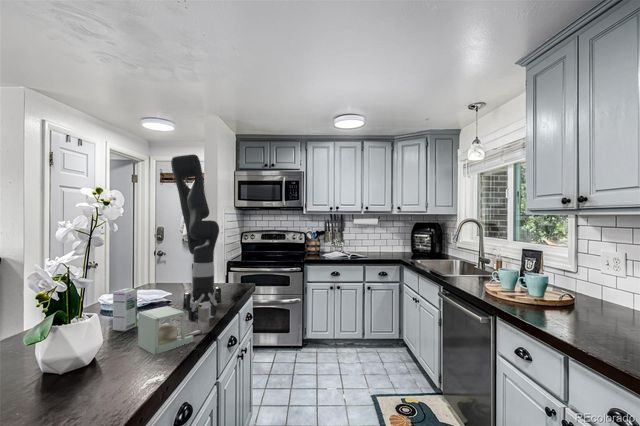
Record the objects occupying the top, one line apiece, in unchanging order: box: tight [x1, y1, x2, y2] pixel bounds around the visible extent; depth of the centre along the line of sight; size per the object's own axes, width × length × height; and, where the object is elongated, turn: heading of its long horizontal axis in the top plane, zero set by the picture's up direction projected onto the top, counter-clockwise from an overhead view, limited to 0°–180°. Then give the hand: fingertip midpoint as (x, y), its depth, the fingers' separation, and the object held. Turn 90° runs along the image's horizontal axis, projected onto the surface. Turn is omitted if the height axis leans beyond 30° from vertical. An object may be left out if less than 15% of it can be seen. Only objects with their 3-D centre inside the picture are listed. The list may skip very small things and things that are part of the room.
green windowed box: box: [137, 305, 195, 356], centre depth 107 cm, size 13×11×11 cm
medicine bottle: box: [190, 301, 215, 322], centre depth 135 cm, size 7×7×12 cm
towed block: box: [158, 306, 210, 346], centre depth 112 cm, size 19×6×9 cm, turn 143°
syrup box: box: [112, 288, 138, 332], centre depth 122 cm, size 6×6×14 cm
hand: (202, 318), depth 118 cm, fingers open, 8 cm apart
